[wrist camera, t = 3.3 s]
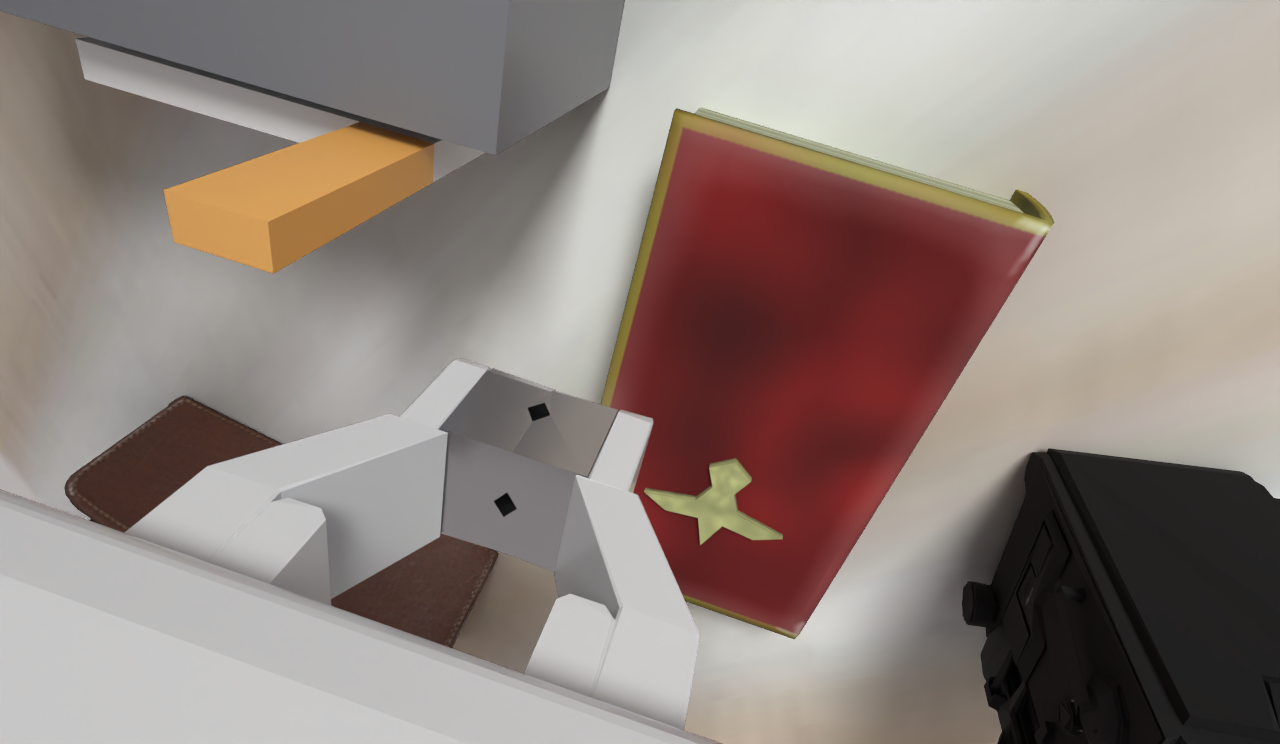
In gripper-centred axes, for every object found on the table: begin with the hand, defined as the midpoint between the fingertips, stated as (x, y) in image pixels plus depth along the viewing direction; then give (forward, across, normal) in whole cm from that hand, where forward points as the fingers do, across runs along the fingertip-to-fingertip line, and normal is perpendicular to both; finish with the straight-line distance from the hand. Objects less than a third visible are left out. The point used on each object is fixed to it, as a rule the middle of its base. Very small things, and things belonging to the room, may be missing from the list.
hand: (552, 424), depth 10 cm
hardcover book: (+18, -5, +9) cm, 20 cm away
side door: (+16, +11, 0) cm, 19 cm away
